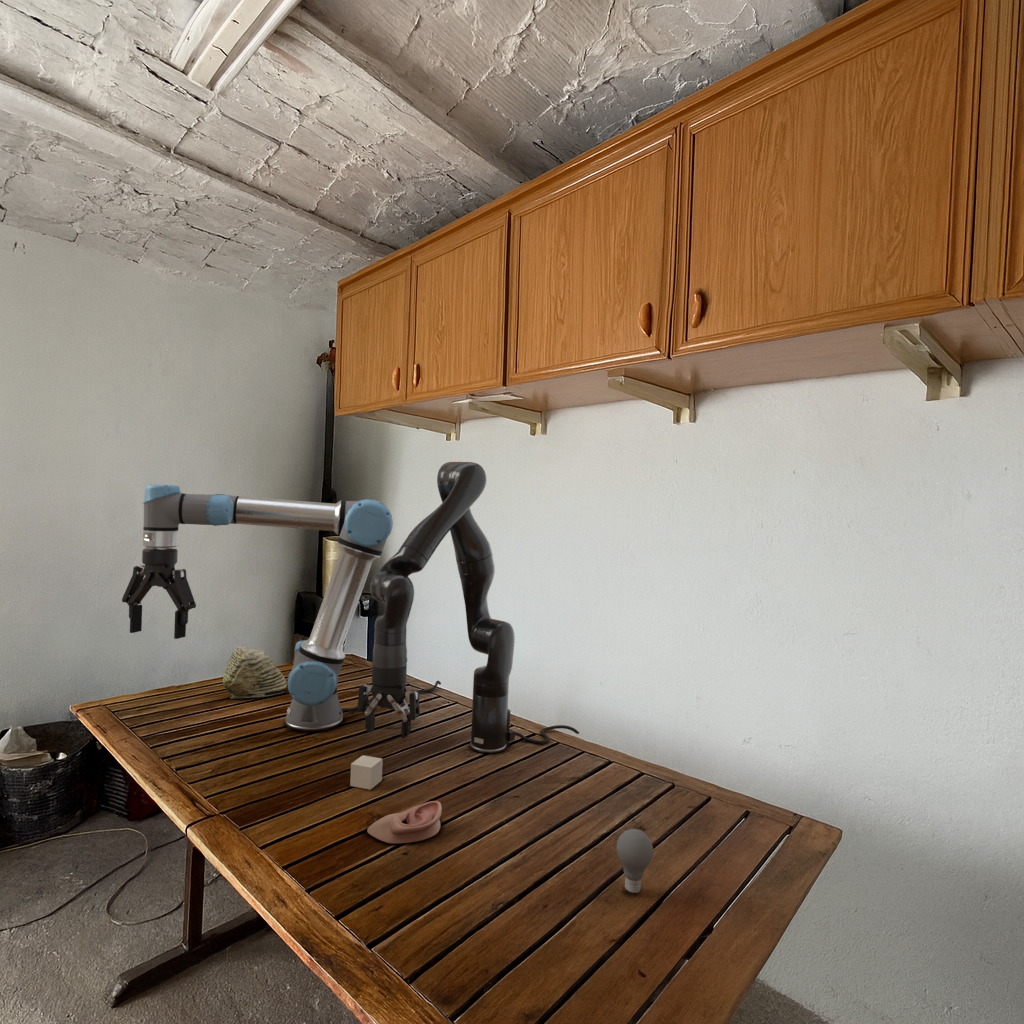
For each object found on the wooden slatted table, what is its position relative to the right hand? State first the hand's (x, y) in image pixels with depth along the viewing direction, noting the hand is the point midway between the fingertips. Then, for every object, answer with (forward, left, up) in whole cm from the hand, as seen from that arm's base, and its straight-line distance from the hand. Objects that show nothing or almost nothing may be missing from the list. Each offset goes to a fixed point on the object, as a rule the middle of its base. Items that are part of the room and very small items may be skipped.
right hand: (387, 734), depth 141 cm
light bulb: (-12, +59, -11) cm, 61 cm away
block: (+3, -2, -11) cm, 12 cm away
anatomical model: (+7, +20, -11) cm, 24 cm away
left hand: (+35, -50, +17) cm, 63 cm away
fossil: (+1, -77, -11) cm, 78 cm away
